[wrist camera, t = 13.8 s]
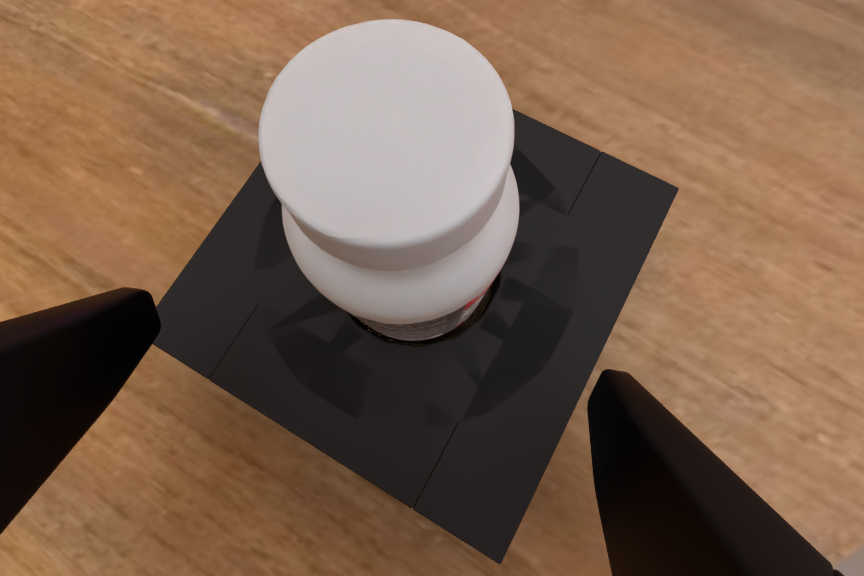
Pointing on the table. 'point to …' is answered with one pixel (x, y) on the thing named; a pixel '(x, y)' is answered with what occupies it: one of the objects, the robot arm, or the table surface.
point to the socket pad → (435, 363)
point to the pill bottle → (394, 173)
